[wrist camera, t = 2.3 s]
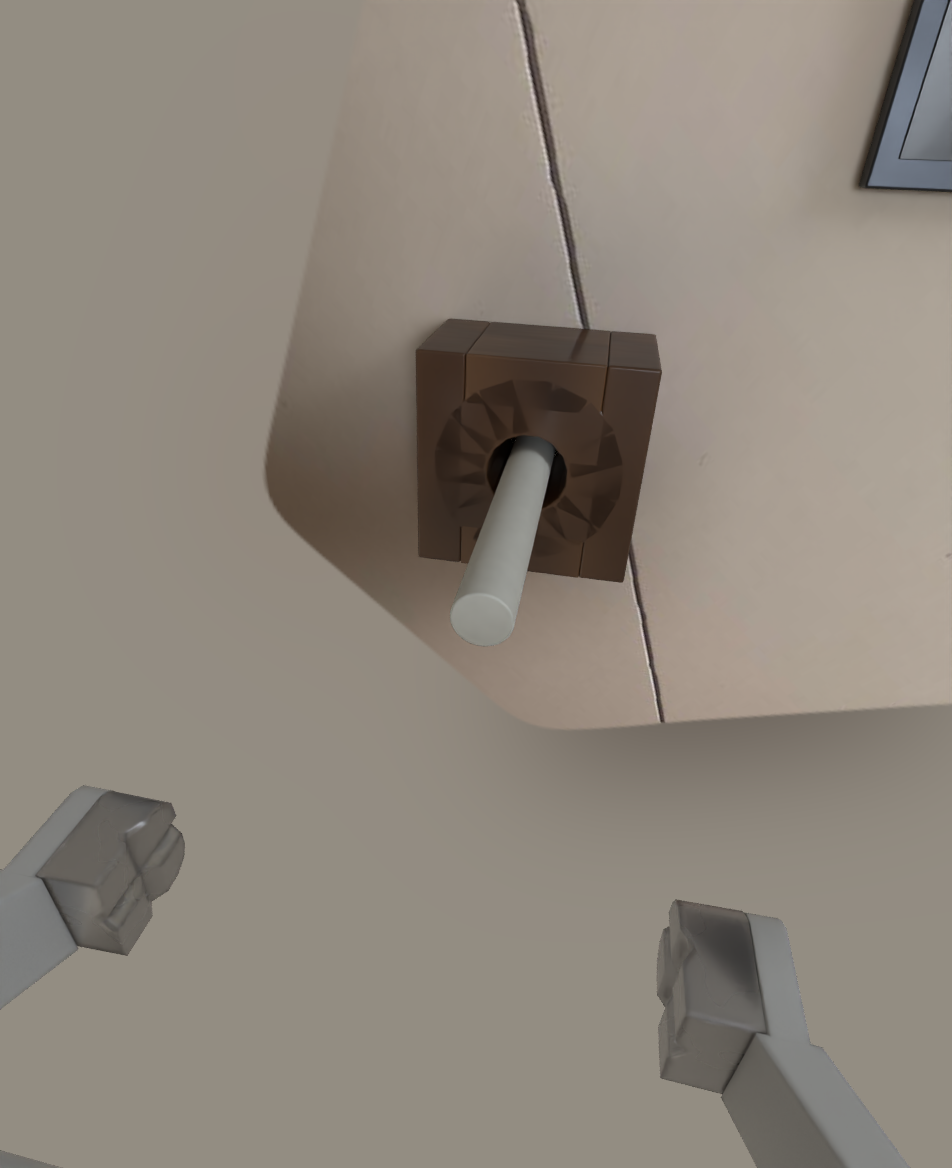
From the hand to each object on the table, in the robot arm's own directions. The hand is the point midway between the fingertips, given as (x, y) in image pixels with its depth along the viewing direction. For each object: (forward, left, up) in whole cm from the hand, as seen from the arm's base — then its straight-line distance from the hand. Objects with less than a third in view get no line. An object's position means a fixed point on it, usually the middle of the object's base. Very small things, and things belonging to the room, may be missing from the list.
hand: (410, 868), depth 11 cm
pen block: (0, 0, -21) cm, 21 cm away
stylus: (0, 0, -21) cm, 21 cm away
